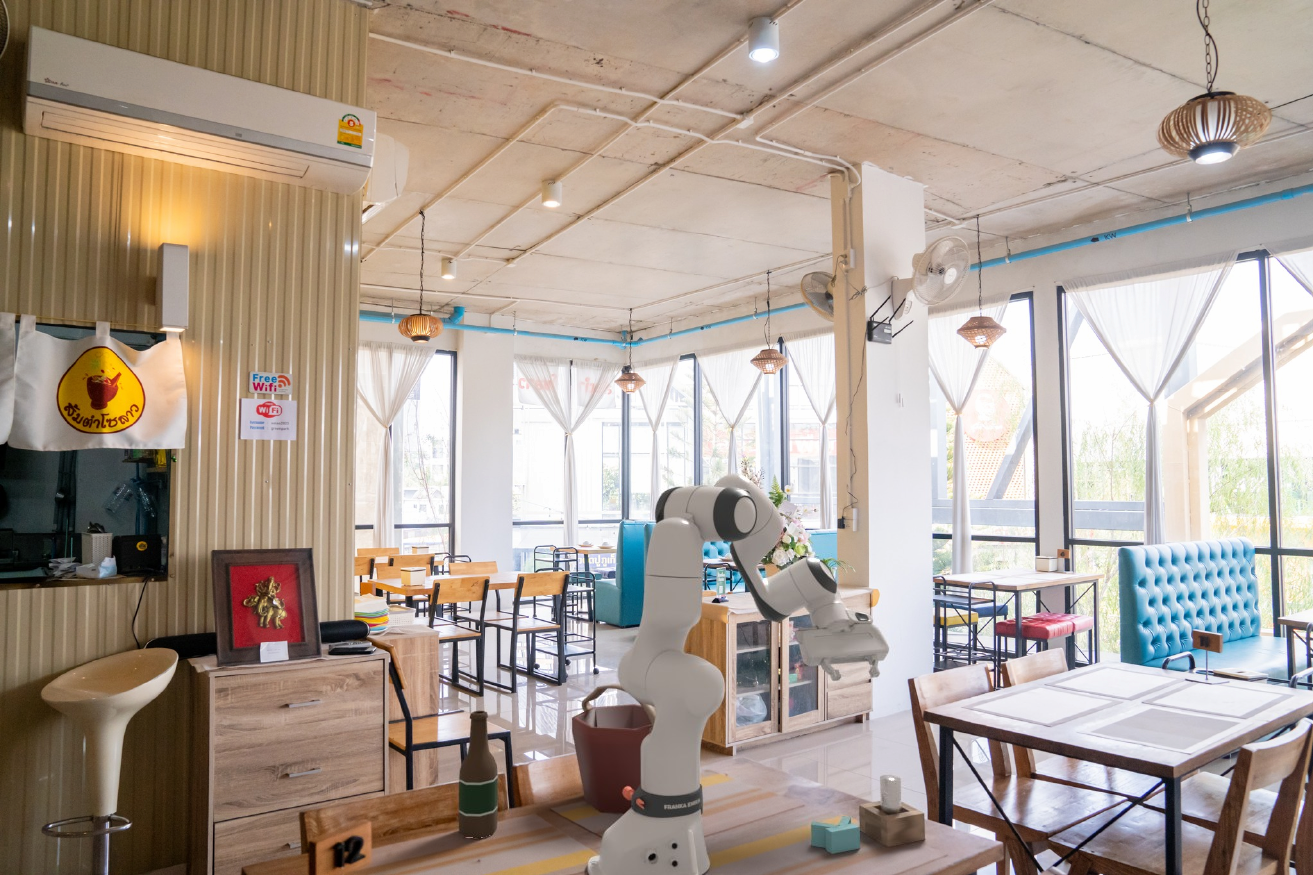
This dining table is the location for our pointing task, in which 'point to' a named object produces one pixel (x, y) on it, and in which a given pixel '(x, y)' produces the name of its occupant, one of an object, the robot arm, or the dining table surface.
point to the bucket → (610, 750)
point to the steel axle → (890, 794)
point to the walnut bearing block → (892, 824)
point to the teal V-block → (836, 836)
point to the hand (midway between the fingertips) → (856, 677)
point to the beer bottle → (478, 783)
